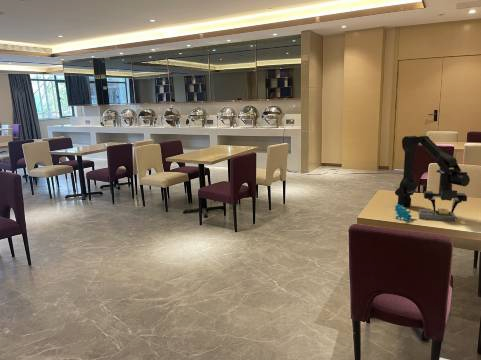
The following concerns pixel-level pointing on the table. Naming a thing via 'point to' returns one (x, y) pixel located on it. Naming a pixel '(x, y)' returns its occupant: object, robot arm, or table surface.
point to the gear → (402, 213)
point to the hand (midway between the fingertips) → (443, 212)
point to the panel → (435, 215)
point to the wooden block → (443, 211)
